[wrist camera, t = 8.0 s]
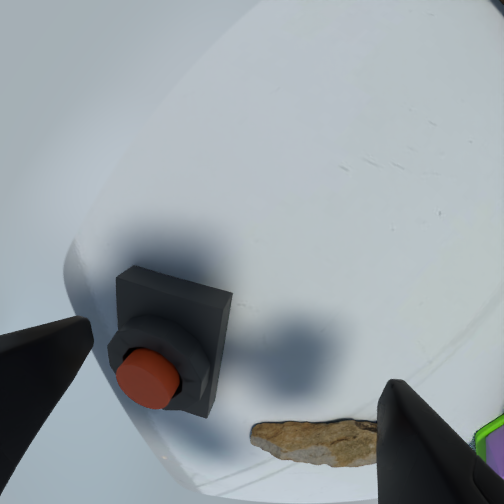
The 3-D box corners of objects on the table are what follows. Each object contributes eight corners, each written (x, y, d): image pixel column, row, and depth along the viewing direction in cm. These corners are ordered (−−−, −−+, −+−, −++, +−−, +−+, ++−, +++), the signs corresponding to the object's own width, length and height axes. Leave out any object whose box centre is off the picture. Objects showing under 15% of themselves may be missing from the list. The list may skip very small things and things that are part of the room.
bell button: (179, 398, 17) (169, 417, 16) (131, 379, 18) (118, 395, 16) (181, 359, 16) (169, 378, 14) (127, 339, 16) (112, 355, 15)
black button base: (215, 399, 21) (199, 436, 18) (136, 372, 22) (113, 402, 19) (233, 292, 18) (213, 327, 14) (133, 264, 19) (98, 288, 15)
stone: (254, 448, 23) (248, 471, 20) (249, 414, 22) (241, 438, 19) (396, 445, 20) (400, 467, 17) (407, 408, 19) (415, 432, 16)
